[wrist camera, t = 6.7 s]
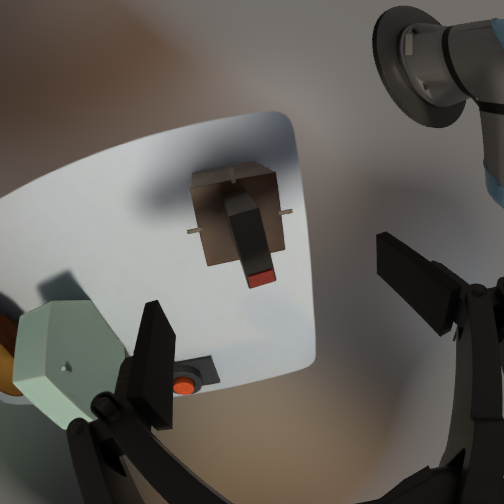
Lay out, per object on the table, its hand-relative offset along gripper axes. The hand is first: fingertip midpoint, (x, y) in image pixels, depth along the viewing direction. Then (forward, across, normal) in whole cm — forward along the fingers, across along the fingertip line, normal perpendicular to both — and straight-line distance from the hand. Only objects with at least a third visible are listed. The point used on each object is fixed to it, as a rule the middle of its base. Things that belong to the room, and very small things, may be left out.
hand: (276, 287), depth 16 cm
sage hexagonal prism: (+22, -29, -13) cm, 39 cm away
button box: (+22, -17, -28) cm, 40 cm away
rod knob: (+12, 0, 0) cm, 12 cm away
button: (+20, -17, -28) cm, 38 cm away
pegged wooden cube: (+22, 0, 0) cm, 22 cm away
